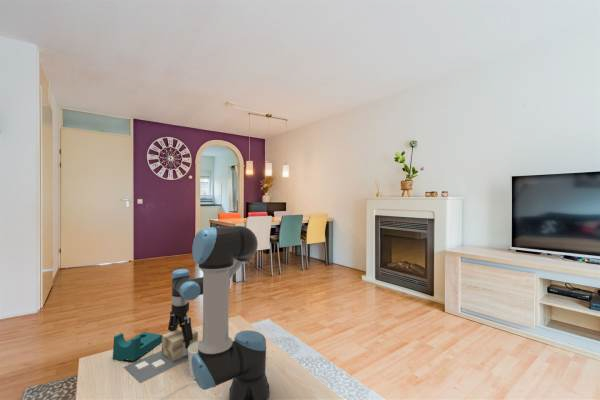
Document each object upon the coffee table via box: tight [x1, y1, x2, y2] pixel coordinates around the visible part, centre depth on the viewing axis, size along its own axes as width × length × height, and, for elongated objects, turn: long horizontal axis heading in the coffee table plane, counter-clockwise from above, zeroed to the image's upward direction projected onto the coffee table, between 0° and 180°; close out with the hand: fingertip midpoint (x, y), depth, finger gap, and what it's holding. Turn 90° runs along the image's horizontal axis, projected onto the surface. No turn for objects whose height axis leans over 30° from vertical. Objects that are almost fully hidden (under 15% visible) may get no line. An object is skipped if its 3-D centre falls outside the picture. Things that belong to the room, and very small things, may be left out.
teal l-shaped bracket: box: [112, 331, 163, 362], centre depth 133 cm, size 18×11×10 cm, turn 168°
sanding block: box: [161, 327, 199, 362], centre depth 131 cm, size 10×12×9 cm
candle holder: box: [187, 340, 202, 382], centre depth 118 cm, size 10×10×12 cm
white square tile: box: [135, 361, 149, 371], centre depth 120 cm, size 4×4×1 cm
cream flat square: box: [152, 359, 165, 369], centre depth 122 cm, size 4×4×1 cm
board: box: [123, 350, 188, 384], centre depth 126 cm, size 16×28×2 cm, turn 143°
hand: (179, 350), depth 131 cm, fingers closed on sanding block, 10 cm apart
